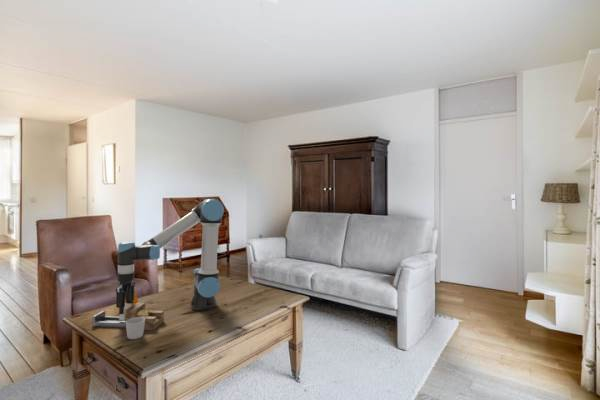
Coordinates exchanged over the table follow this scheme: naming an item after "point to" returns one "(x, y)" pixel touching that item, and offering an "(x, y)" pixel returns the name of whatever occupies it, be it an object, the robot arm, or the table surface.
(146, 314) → the axle
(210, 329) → the table surface
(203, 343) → the table surface
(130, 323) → the cup
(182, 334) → the table surface
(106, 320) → the v block
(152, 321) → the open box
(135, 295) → the bracket
